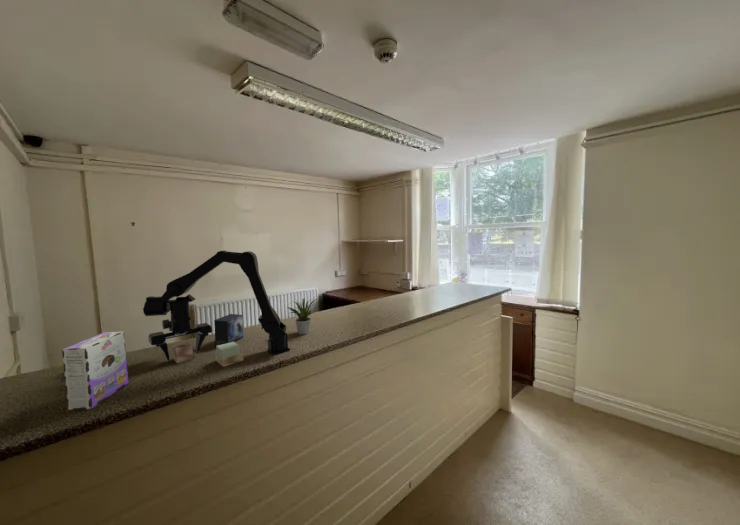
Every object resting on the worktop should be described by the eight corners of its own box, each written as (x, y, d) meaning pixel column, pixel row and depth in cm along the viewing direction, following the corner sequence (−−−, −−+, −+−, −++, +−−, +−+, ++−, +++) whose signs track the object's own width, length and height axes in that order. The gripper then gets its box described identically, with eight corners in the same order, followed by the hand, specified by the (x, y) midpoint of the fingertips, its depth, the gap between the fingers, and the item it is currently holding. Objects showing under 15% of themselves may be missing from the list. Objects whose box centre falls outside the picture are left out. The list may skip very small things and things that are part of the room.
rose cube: (189, 355, 111) (188, 342, 111) (193, 359, 108) (192, 345, 107) (173, 359, 108) (172, 346, 107) (177, 363, 104) (176, 349, 104)
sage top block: (234, 349, 110) (233, 341, 109) (240, 354, 105) (239, 345, 105) (216, 354, 106) (216, 345, 105) (222, 358, 101) (221, 350, 101)
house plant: (310, 325, 148) (309, 292, 146) (326, 331, 137) (325, 296, 136) (284, 331, 138) (282, 297, 137) (299, 339, 128) (297, 301, 126)
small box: (228, 346, 120) (227, 320, 119) (214, 345, 122) (213, 320, 121) (244, 337, 131) (243, 314, 130) (231, 336, 132) (230, 313, 131)
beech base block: (235, 356, 111) (235, 348, 111) (243, 361, 106) (243, 353, 106) (215, 361, 106) (215, 353, 106) (223, 367, 101) (222, 359, 101)
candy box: (109, 384, 90) (104, 331, 88) (129, 383, 90) (125, 330, 89) (66, 410, 76) (60, 348, 75) (91, 409, 76) (85, 347, 75)
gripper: (201, 306, 119) (204, 344, 120) (143, 315, 105) (147, 357, 107) (211, 310, 111) (213, 351, 112) (150, 321, 98) (153, 367, 99)
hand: (183, 356), depth 108 cm, fingers open, 9 cm apart
